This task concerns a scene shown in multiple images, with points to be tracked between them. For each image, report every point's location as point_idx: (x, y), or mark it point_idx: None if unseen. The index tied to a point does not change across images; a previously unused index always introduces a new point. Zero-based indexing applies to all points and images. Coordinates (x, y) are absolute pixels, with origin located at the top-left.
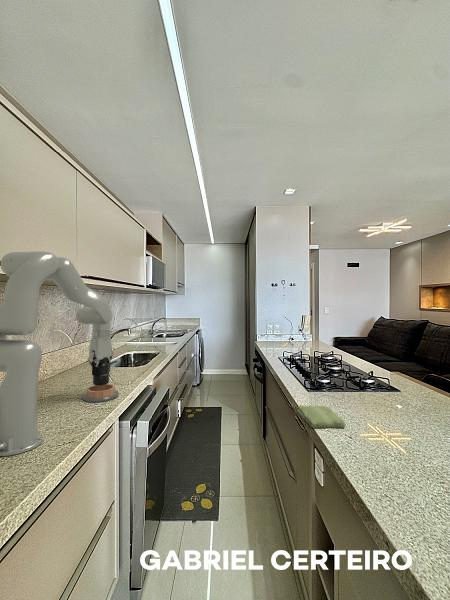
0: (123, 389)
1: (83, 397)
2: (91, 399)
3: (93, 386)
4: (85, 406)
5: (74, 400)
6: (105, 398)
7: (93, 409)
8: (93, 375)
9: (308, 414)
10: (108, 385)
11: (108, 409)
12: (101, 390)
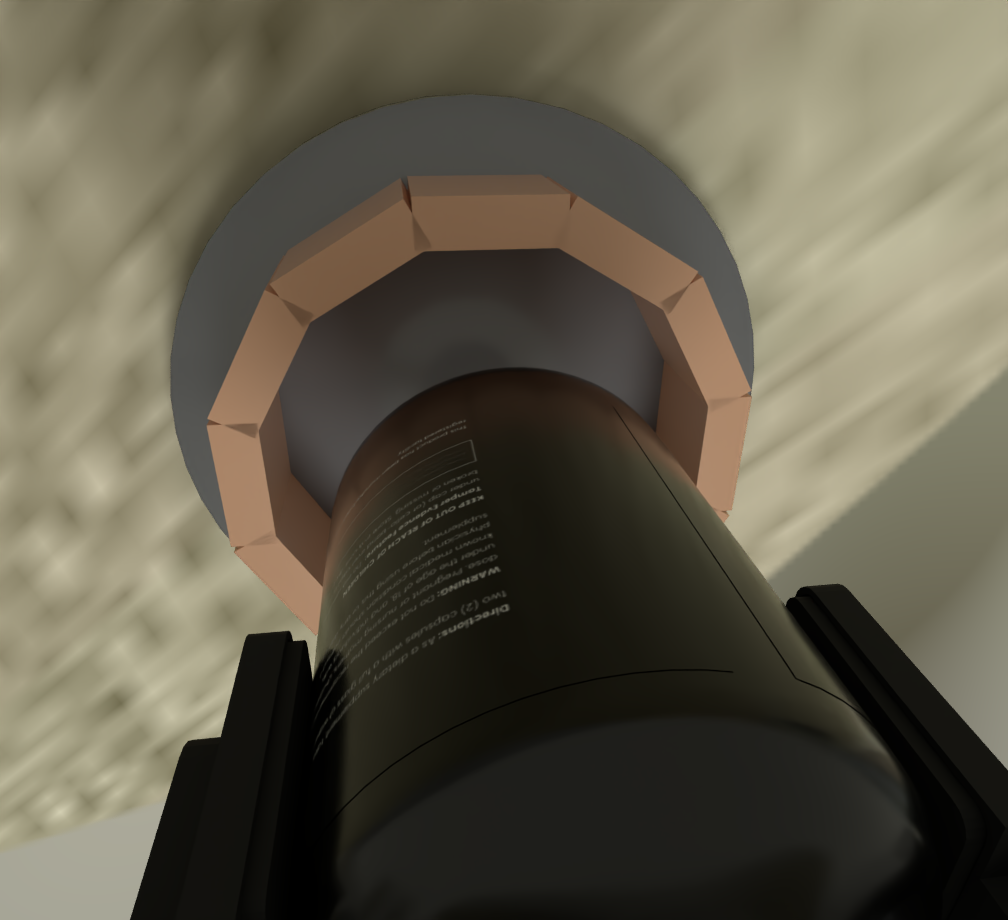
0: (869, 464)
1: (217, 248)
2: (204, 457)
3: (538, 248)
4: (37, 481)
5: (137, 64)
6: None
7: (24, 644)
8: (337, 589)
9: None
10: (694, 457)
11: (128, 770)
12: (638, 304)
